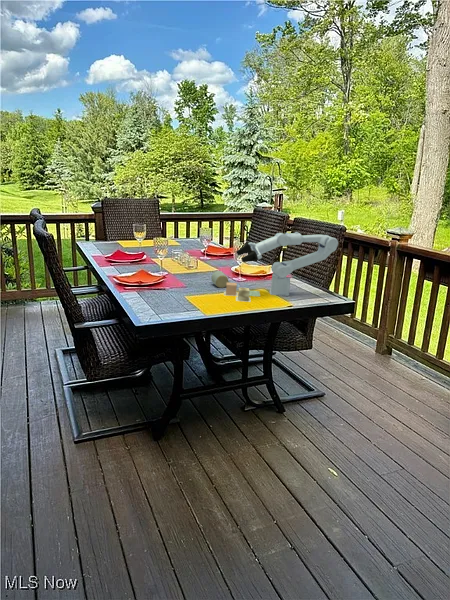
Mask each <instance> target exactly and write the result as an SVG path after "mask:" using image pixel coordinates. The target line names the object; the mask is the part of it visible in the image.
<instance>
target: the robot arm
mask: <svg viewBox="0 0 450 600" xmlns="http://www.w3.org/2000/svg"><path fill="white" fill-rule="evenodd" d="M302 243H318V249H317V251H314V252H312V253H308V254H305V255H303V256H300V257H297V258H295V259H292V260H285V261H284V260H283V261H275V262H273V264H272V265H271V271H272V274H271V275H272V276H271V285H270V286H271V287H270V289H269V291H268V292H269V294H270V295H271V296H275V295H276V296H282V297H285V296H286V297H289V296H290V291H291V290H290V288H291V277H287V276H288V275H290V274H292V273H293V271H295V270H298V269H302V268H304V267H307V266H310V265H314V264H315V263H318V262H319V263H320V262H321V261H324V260H326V259H327V258H328V257H329V256H330V255H331V254H332V253H333V252H335V251H336V250H337V248H338V246H339V240H338V238H336V237H332V236H330V235H328V234H307V235H302V234H301V232H298V231H295V232H293V233H291V232H290V233H289V232H285V233H283V232H277V233H276V234H275V235H274V236H272V237H269V238H267V239H264V240H261V241H260V242H252V241H250V242H246V243H245V244H244V245H243V246H242V247H241V248H239V249H237V250H236V254H237V256H241V255H244V256H243V257H241V262H242V263H247V262H258V260H261V259H262V258H263V256H262V254H265V253H267V252H270V251H272V250H274V249H276V248H278V247H281V246H282V247H286V246H295V245H297V246H299V245H301V244H302ZM245 254H246V255H245Z"/></svg>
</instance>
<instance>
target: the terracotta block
mask: <svg viewBox="0 0 450 600" xmlns="http://www.w3.org/2000/svg"><path fill="white" fill-rule="evenodd" d="M229 282H230V281H229ZM229 282H227V286H226V287H225V291H226V295H225V296H227V295H236V292H237V289H238V288H237V286H238V285H237V282H230V283H229Z"/></svg>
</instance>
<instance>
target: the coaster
mask: <svg viewBox="0 0 450 600" xmlns="http://www.w3.org/2000/svg"><path fill="white" fill-rule="evenodd" d="M251 296H252V297H261V293H260V291H259V290H249V297H251Z"/></svg>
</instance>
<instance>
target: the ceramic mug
mask: <svg viewBox="0 0 450 600" xmlns="http://www.w3.org/2000/svg"><path fill="white" fill-rule="evenodd" d="M210 280H211V282H212V283H213V284H214V285H215V286H216V287H217V288H219V289H223V288H226V286H227V282H229V283H231V282H230V281H229V278H228V276H227V275H226V274H225V273H224V271H221V270H216V271H214V272H213V273H212V275H211V279H210Z"/></svg>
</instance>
